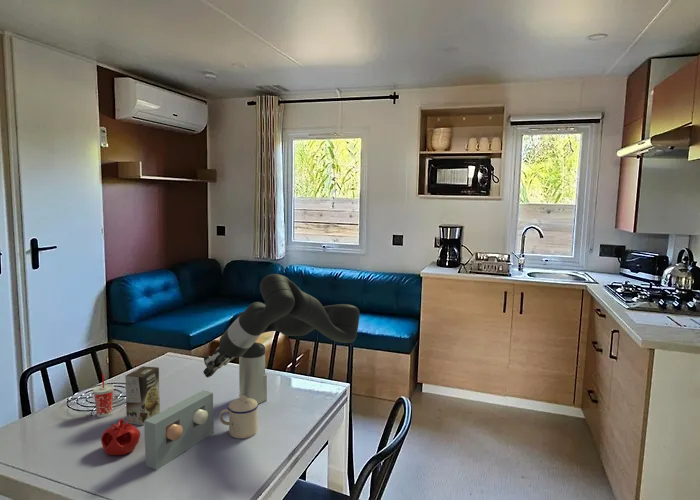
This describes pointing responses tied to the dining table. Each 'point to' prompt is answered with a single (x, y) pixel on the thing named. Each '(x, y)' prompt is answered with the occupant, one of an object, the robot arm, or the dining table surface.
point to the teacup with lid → (241, 417)
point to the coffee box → (142, 394)
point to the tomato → (120, 438)
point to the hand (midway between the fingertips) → (207, 374)
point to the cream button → (200, 416)
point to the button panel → (181, 414)
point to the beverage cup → (103, 399)
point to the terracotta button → (174, 431)
